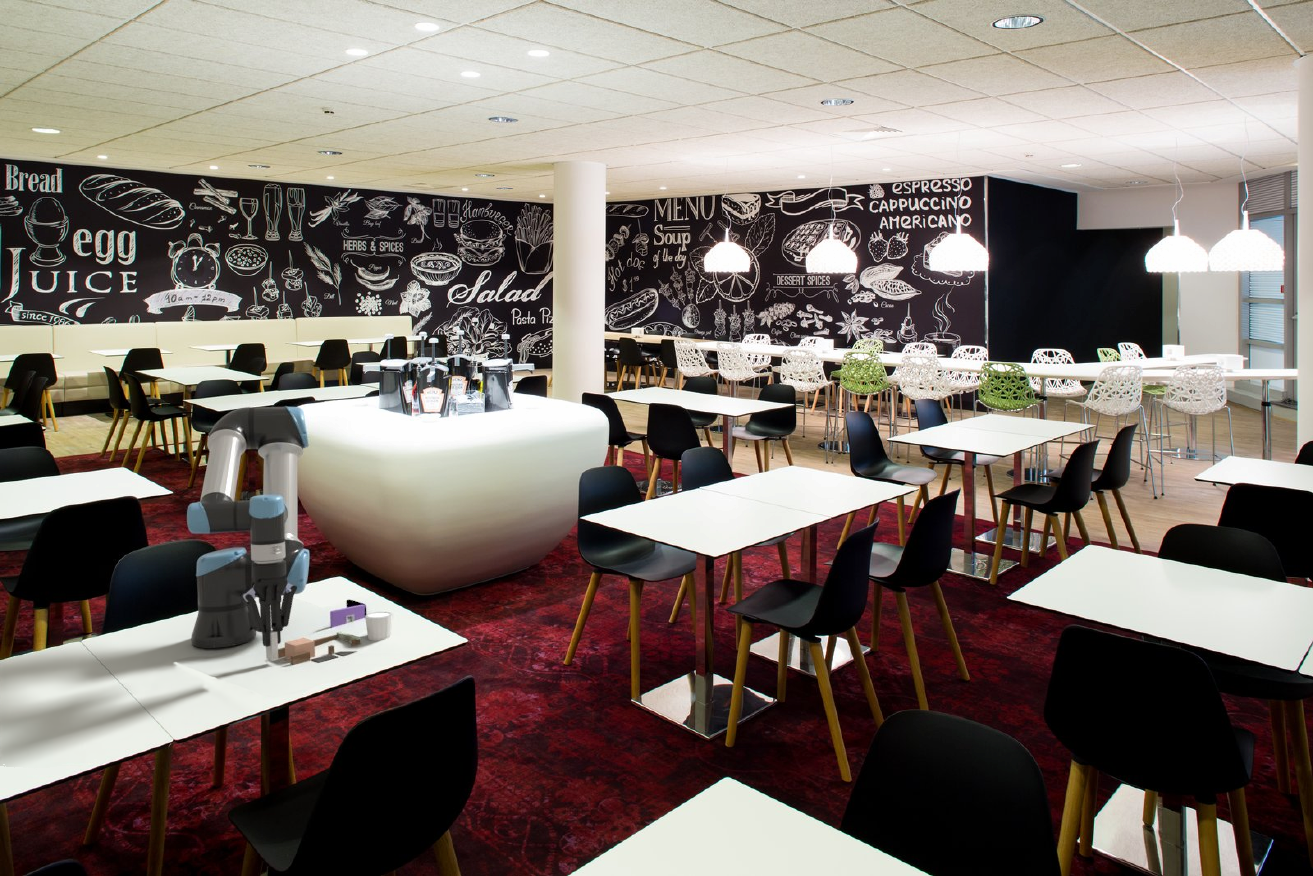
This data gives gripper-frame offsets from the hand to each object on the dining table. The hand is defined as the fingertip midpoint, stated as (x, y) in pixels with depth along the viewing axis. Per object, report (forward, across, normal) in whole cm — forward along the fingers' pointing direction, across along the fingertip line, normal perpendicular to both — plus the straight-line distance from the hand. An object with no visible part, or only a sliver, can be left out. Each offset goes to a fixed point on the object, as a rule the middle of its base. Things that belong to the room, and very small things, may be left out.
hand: (272, 658), depth 216 cm
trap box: (+1, +13, 0) cm, 13 cm away
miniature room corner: (+2, +29, +16) cm, 33 cm away
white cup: (+2, +27, -4) cm, 27 cm away
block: (+2, +7, 0) cm, 7 cm away
